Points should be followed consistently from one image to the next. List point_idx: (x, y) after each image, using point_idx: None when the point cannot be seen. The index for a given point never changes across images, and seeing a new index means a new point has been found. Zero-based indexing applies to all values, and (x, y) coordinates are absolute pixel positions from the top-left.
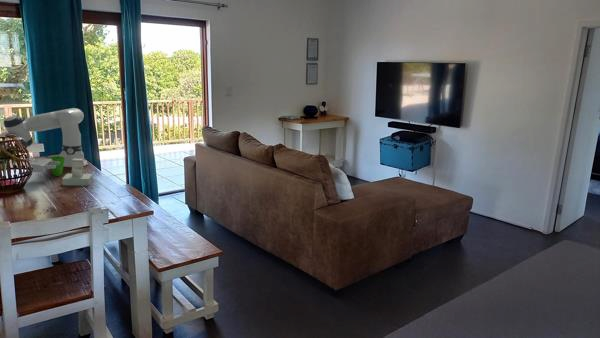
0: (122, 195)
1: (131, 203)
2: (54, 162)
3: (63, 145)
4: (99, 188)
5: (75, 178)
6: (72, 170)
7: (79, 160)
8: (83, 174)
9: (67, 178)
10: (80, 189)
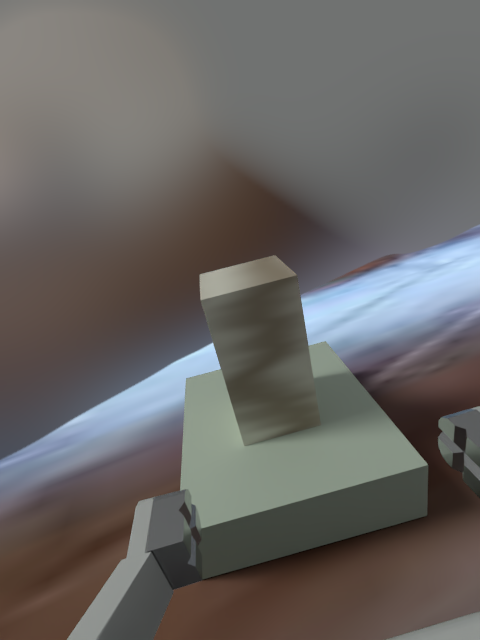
0: (410, 271)
1: (474, 240)
2: (134, 606)
3: None
4: (361, 332)
5: (354, 389)
6: (311, 371)
7: (276, 258)
8: (208, 406)
9: (392, 429)
10: (439, 370)
